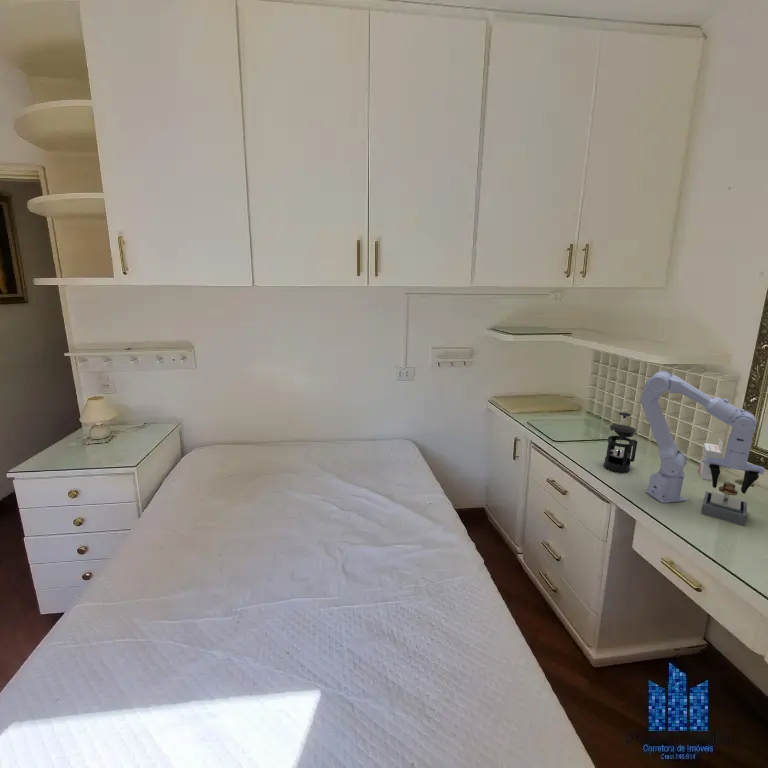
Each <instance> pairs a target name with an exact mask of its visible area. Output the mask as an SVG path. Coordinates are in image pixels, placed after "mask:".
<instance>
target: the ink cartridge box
mask: <svg viewBox="0 0 768 768" xmlns="http://www.w3.org/2000/svg"><path fill="white" fill-rule="evenodd" d="M723 447H724V444H723V441H722V439H721V438H718V444H713V443H707V442H704V443H703V446H702V453H701V457H700V461H699V466H698V472H699V475H700V478H701V479H703V480H708V481H712V474H711V470H710V467H709V465H706V464H705V460H706V457H708V458H719V459H722V455H723V449H724V448H723Z"/></svg>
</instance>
